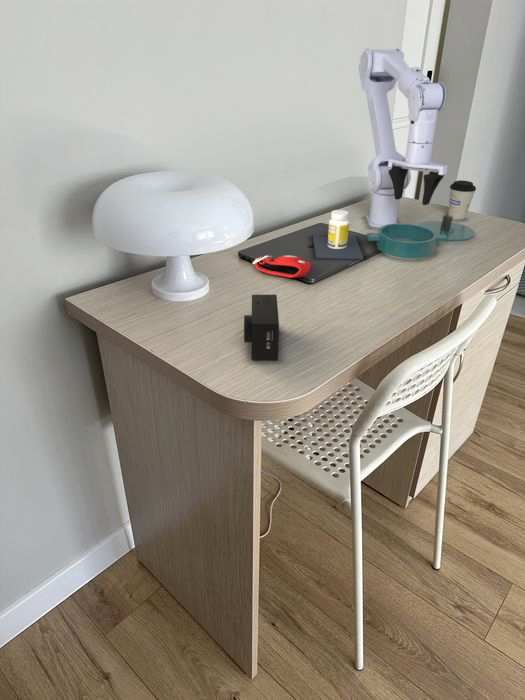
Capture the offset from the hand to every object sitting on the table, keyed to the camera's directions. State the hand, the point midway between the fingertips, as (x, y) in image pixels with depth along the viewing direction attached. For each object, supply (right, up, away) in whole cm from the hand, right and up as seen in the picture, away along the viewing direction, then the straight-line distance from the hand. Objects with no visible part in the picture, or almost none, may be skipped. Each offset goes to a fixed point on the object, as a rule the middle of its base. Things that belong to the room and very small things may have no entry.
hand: (411, 201), depth 124 cm
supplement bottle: (-18, -11, 0) cm, 21 cm away
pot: (-2, -12, 0) cm, 12 cm away
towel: (-18, -11, 0) cm, 21 cm away
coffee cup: (+19, +1, +21) cm, 28 cm away
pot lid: (+11, -5, +9) cm, 16 cm away
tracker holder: (-32, -19, -11) cm, 39 cm away
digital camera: (-37, -36, -37) cm, 63 cm away
